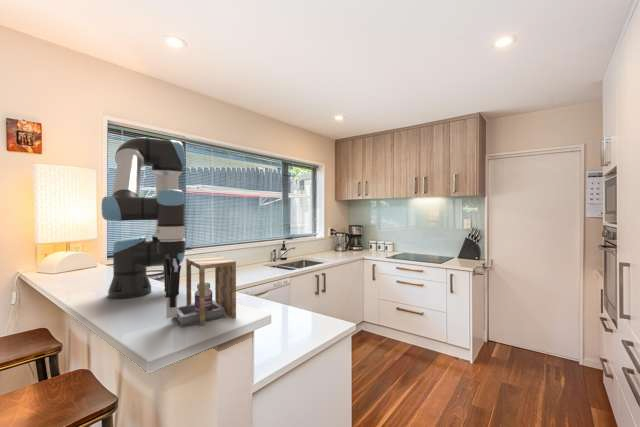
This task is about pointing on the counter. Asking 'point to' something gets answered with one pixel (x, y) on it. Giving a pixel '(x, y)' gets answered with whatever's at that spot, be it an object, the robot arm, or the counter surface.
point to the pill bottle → (207, 298)
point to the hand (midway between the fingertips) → (171, 316)
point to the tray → (189, 317)
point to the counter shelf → (223, 283)
